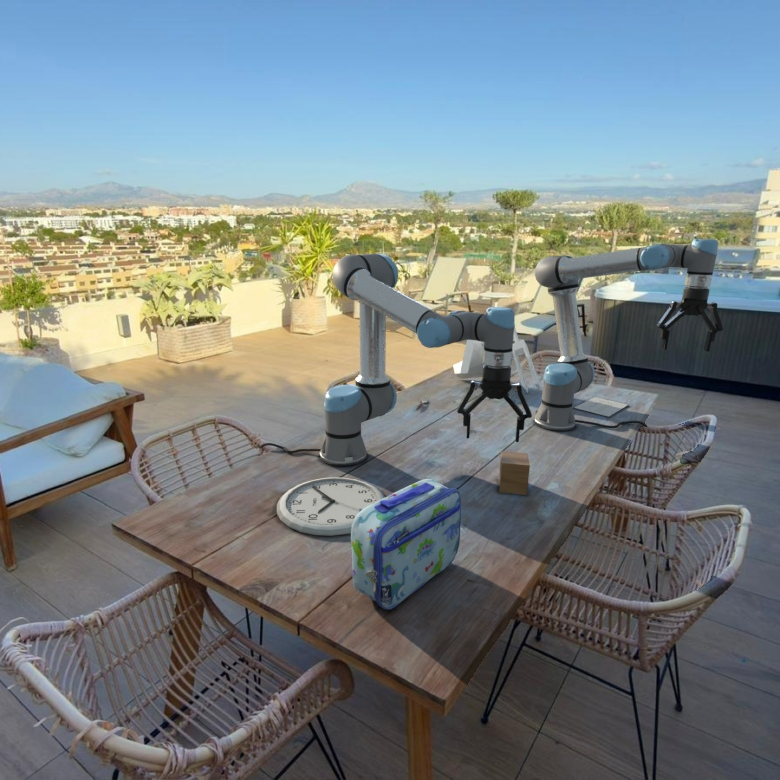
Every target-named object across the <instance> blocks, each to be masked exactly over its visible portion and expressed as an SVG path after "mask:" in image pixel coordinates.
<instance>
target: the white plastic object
mask: <svg viewBox="0 0 780 780" xmlns="http://www.w3.org/2000/svg"><path fill="white" fill-rule="evenodd" d="M522 355H525V359H526V361H527V365H528V368H529V371H530V374H531V377H532V380H533V383H534V386H535V387H536V389H537V390H541V389H542V387H541V384H540V381H539V378H538V375H537V372H536V368H535V366H534V363H533V360H532V356H531V353H530V350H529V347H528V344H527V342H526V341H525V339H521V340H520V339H519V335H518V331H517V329H516V326H515V327H514V335H513V346H512V361H514V364H515V367H516V370H517V374H518V377H519V380H520V383H521V386H522V388H523V389H524V390H525V391H526V393H527V394H529V386H528V384H527V380H526V377H525V374H524V371H523V367H522V364H521V360H520V358H519V356H522ZM483 359H484V342H481V341H476V340H466V343H465V348H464V352H463V356H462V360H461V361H459V362H458V363H454V364H453V365H452V367H453V372H454V375H455V376H456V377H457V379H458V380H465V379H466V380H467V379H475V378H482V376H483V366H484V365H485V364H484V363H483Z"/></svg>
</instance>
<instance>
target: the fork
mask: <svg viewBox="0 0 780 780" xmlns="http://www.w3.org/2000/svg"><path fill="white" fill-rule="evenodd" d="M429 399H430V397H429V395H424V396H423V398H422V400H421V403H420V404H418V406H417V407H416V409H415V410H419V409H420V408H421V407H422V406H423V405H424V404H425V403H428V402H429Z"/></svg>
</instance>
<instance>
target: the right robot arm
mask: <svg viewBox="0 0 780 780" xmlns="http://www.w3.org/2000/svg"><path fill="white" fill-rule="evenodd" d="M718 246H719V241H718V240H717V239H713V238H711V239H709V238H694V239H693V240H692V242H691V244H673V243H672V244H671V243H655V244H651V245H648V246H642V247H635V248H628V249H622V250H617V251H616V250H615V251H609V252H602V253H598V254H590V255H584V256H577V257H573V256H570V255H565V254H563V255H555V256H554V255H553V256H551V255H550V256H547V257H544V258H542V259H540V261H538V263H537V264H536V266H535V268H534V277H535V280H536V281H537V283H538V284H539V285H540V286H542V287H544V288H546V289H547V293H548V295H549V296H551V297H552V301H553V311H554V317H555V325H556V331H557V340H558V346H559V353H560V357H559V358H558V359H557V360H556V361H557V363H551V364H549V365H547V366H546V367H545V370H544V373H543V381H542V382H543V383H542V394H541V402H540V405H539V407H538V409H536V410H535V416H534V424H535V425H536V426H537V427H539V428H542V429H544V430H549V431H556V432H567V431H572V430H574V429H575V428H576V423H577V424H586V425H592V426H597V427H601V428H604V429H605V428H606V429H616V428H619V427H620V426H621V425H627V424H639V425H642V426H643V427H644V428H648V427H649V426H648V425H647V424H646V423H645V422H643V421H640V420H628V421H620V422H618V423H617V424H616V425H608V424H603V423H599V422H593V421H587V420H580V419H576V418H575V417H576V416H575V413H574V407H573V405H574V398H575V394H578V393H580V392H582V391H584V390H586V389H588V387H589V386H591V385H592V383H593V382H594V379H595V370H594V368H593V366H592V365H591V364H590V363H589V356H588V355H586V354H585V353H584V349H583V342H582V334H581V333H582V332H581V326H580V318H579V309H578V302H577V295H576V294H577V292H578V290H579V289H580V284H579V280H580V279H587V278H588V279H589V278H596V277H602V276H611V275H619V274H627V273H633V272H642V271H643V272H644V271H655V270H661V269H667V268H675V269H686V275H685V281H684V286H685V287H684V288H683V291H682V296H681V301H676V300H671V302H670V304H669V307H668V308H667V310H666V311H665V312H664V314H663V316H662V317H661V318H660V320H659V321H658V323H656V327H657V328H659V329H661V333H660V339H661V340H662V344H661V349H662V350H664V351H665V350H667V349H668V344H669V339H670V332H671V330H669V329H670V328H672V327H673V326H674V325H675V324H677V322H679V320H680V319H682V318H683V317H684V316H685V315H686V316H695V317H698V316H699V317H700V318H701V319H702V321H703V322H704V324H705V325H706V327H707V328H708V329H709V330H707V331H706V336H705V342H704V347H703V350H704V351H705V352H707V353H708V352H709V353H710V350H711V347H712V343H713V342H715V340H716V335H717V333H718V332H722V331H724V326H723V324H722V323H723V322H722V321H721V317H720V315H719V312H718V303H717V302H714V301H712V302H708V299H709V296H710V288H711V285H712V281H713V280H712V279H713V275H714V269H715V264H716V260H717V256H718V248H719V247H718ZM679 307H680V309H679V310H678V311H677V313H676V314H674V313H675V311H676V309H678V308H679ZM707 308H708V310H710V314H711V317H712V320H713V322H712V320H711V319H710V318H709V316H708V314H707V313H706V311H705V310H706V309H707ZM673 314H674V315H673ZM672 315H673V316H672ZM671 316H672V317H671ZM713 323H714V324H713Z"/></svg>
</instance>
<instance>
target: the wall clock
mask: <svg viewBox="0 0 780 780" xmlns="http://www.w3.org/2000/svg"><path fill="white" fill-rule="evenodd" d="M385 497H386V496H385V494H384V493H383V492H382V491H381V490H380V489H379V488H377V487H376V486H374V485H372V484H371V483H369V482H365V481H362V480H359V479H355V478H349V477H338V476H337V477H335V476H333V477H332V476H331V477H322V478H317V479H312V480H307V481H305V482H302V483H299V484H297V485H295V486H293V487H292V488H290V489H288V490H287V491H286V492H285V493H284V494H283V495H281V496H280V498H279V499H278V502H277V503H276V515H277V517H278V518H279V520H280V521H281V522H282V523H283V524H285V525H286V526H287V527H288V528H290V529H293V530H295V531H297V532H299V533H303V534H308V535H312V536H327V537H328V536H329V537H331V536H332V537H333V536H342V535H350V534H351V529H352V524H353V521H354V519H355V517H356V516H357V514H358V513H359V512H360V511H361V510H362V509H364V508H366V507H367V506H369V505H371V504H374V503H375V502H377V501H379V500H381V499H383V498H385Z"/></svg>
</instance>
